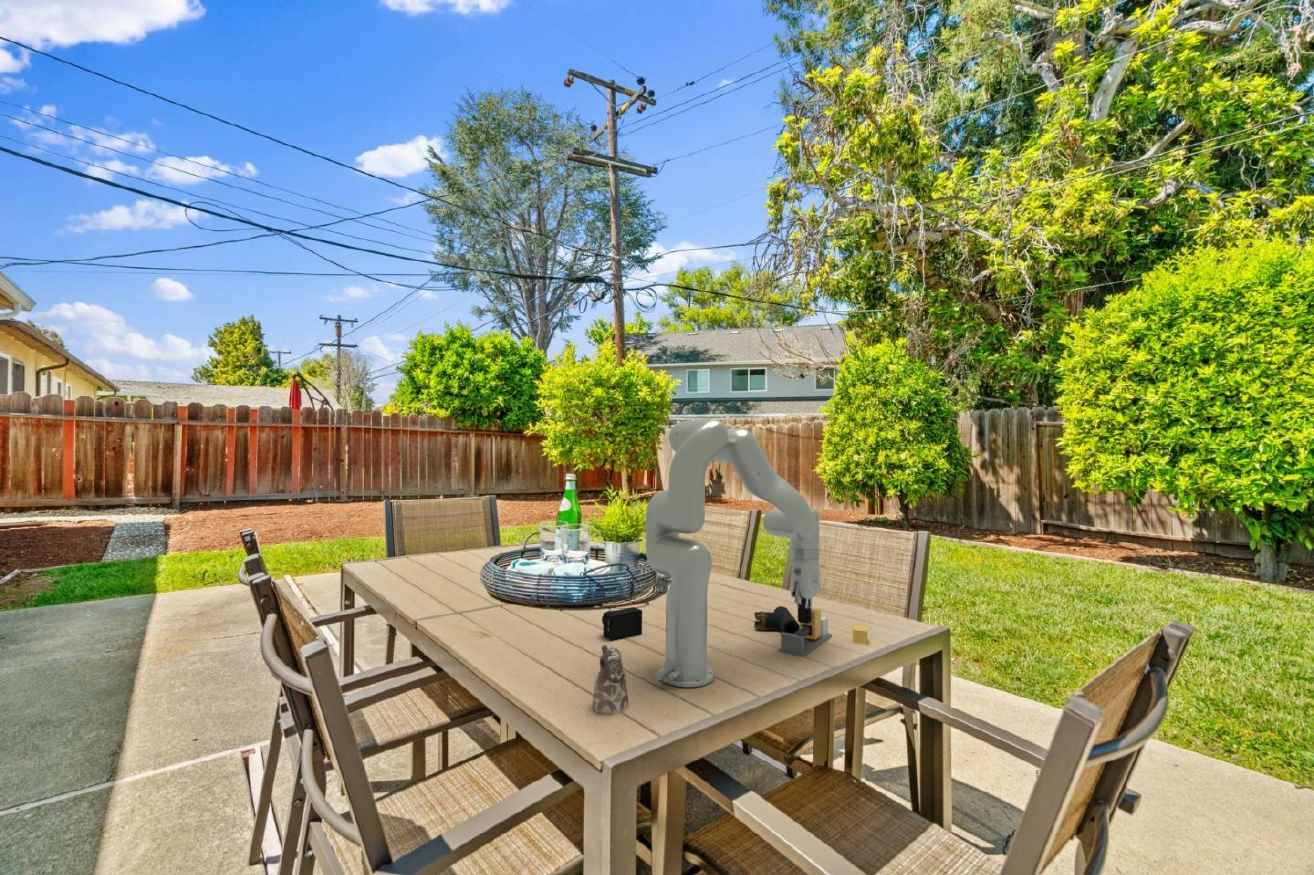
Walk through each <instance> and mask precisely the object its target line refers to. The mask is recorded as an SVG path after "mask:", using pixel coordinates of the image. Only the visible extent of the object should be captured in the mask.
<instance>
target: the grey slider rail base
mask: <svg viewBox="0 0 1314 875" xmlns="http://www.w3.org/2000/svg"><path fill="white" fill-rule="evenodd" d="M811 632H812V626H811V625H807V626H805V627H804V628H802V629H800V630H799V631H797V632H796V633H794V634H789V633H784V632H781V635H780V636H781V640H780V641H781V645H780V647H778V652H782V653H786V654H790V655H794V656H799V657H803V658H804V657H806V656H807V655H809V654H810V653H811V652H813V651H814V650H816V649H817V648H818V647H820V646H821V645H823V644H824V643H825V642H826V641H828V640H830V639H831V638H832V637H833V634H832V633H829V618H828V617H827V616H822V615H821V636H820V637H818V638H817V639H815V640H814V639H809V638H805V637H804V636H806V635H807V634H809V633H811ZM830 637H831V638H830ZM816 647H817V648H816ZM815 648H816V649H815Z"/></svg>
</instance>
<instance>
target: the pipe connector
mask: <svg viewBox="0 0 1314 875" xmlns="http://www.w3.org/2000/svg"><path fill="white" fill-rule="evenodd" d="M754 618H755V620H754V621H753V622H754V627H755V631H781V633H783V632H784V633H789V634H794V633H796V632H797V631H799V630H800V625H799V622H798V620H796V619H795V617H794V615H793V614H792V613H791V612H790V611H789V609H788V608H787V607H785V606H782V605H781V606H780V605H779V606H777V607H775V609H773V612H770V611H768V612H765V611H754Z"/></svg>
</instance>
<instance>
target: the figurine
mask: <svg viewBox="0 0 1314 875" xmlns="http://www.w3.org/2000/svg"><path fill="white" fill-rule="evenodd" d="M601 650H602V651H601V652H602V655H601V656H600V658H599V667H600V669H599V671H598V672H597V675H596V679H595V682H594V683H595V684H594V688H593V697H592V706H593V709H594V711H595V712H597V713H599V714H604V715H605V714H606V715H607V714H609V715H616V714H617V715H618V714H620V713H623V712H625V711H626V710H627V708H629V703H630V702H629V696H628V688H627V687H628V686H627V676H626V674H627V672H626V671H625V670H624V666H623V660H622V652H620V651H619V650H618V649H617V648H615V647H608V646H607V644H603V645H602V646H601Z"/></svg>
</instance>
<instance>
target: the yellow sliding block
mask: <svg viewBox="0 0 1314 875" xmlns="http://www.w3.org/2000/svg"><path fill="white" fill-rule="evenodd" d="M810 608H811V623H809V624H806V623H801V622H798V624H799V625H800V629H802V628H804V627H805V626H807V625H811V626H812V632H811V633H809V634H807V635H806V636H804V637H805V638H809V639H814V640H815V639H817V638H818V637H820V636H821V616H822V609H820V608H816V607H810Z"/></svg>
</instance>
